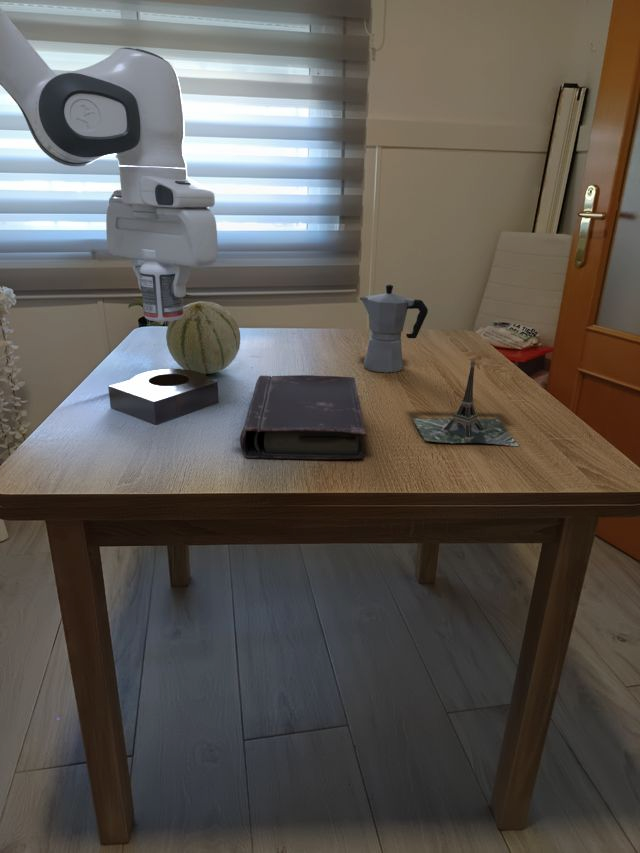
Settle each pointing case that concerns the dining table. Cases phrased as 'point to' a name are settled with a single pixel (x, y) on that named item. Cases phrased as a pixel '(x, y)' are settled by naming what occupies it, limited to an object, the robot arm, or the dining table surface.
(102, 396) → the dining table surface
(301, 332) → the dining table surface
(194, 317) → the cantaloupe
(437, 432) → the eiffel tower figurine
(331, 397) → the diary
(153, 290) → the pill bottle
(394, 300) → the coffeepot
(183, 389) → the dark holder block
